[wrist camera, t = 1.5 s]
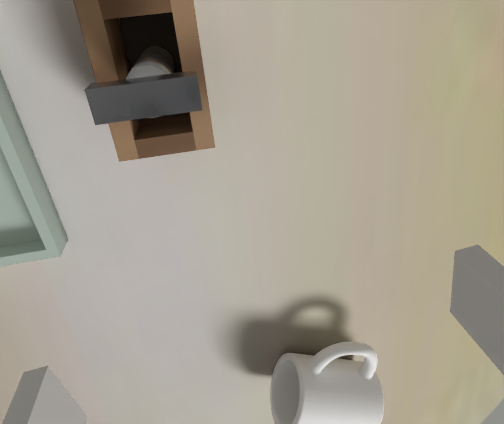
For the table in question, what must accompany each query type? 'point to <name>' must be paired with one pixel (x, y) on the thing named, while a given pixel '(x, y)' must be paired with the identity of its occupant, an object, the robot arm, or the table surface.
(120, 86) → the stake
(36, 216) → the tray
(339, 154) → the table surface
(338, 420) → the mug
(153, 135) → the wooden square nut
